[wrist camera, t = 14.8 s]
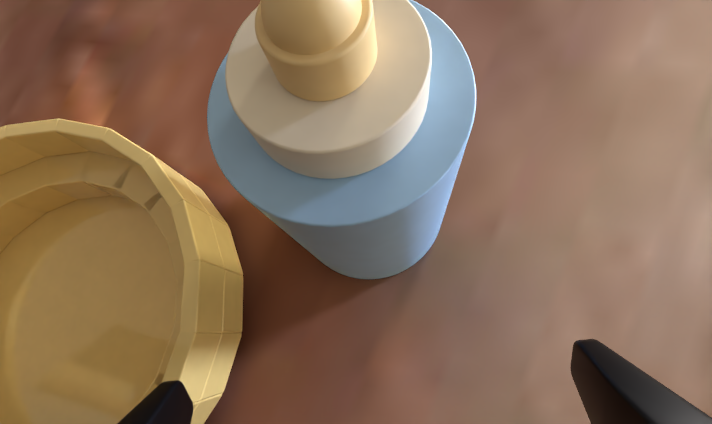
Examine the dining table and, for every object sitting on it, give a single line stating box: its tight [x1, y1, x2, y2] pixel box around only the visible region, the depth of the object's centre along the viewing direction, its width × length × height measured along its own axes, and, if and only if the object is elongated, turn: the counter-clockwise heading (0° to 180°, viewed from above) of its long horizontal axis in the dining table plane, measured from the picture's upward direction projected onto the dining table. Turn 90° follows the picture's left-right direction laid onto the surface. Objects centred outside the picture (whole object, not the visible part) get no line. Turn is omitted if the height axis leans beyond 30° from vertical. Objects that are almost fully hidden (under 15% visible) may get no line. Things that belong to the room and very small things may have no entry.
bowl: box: [0, 119, 243, 424], centre depth 16 cm, size 15×15×4 cm
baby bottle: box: [207, 0, 476, 279], centre depth 12 cm, size 7×7×12 cm
